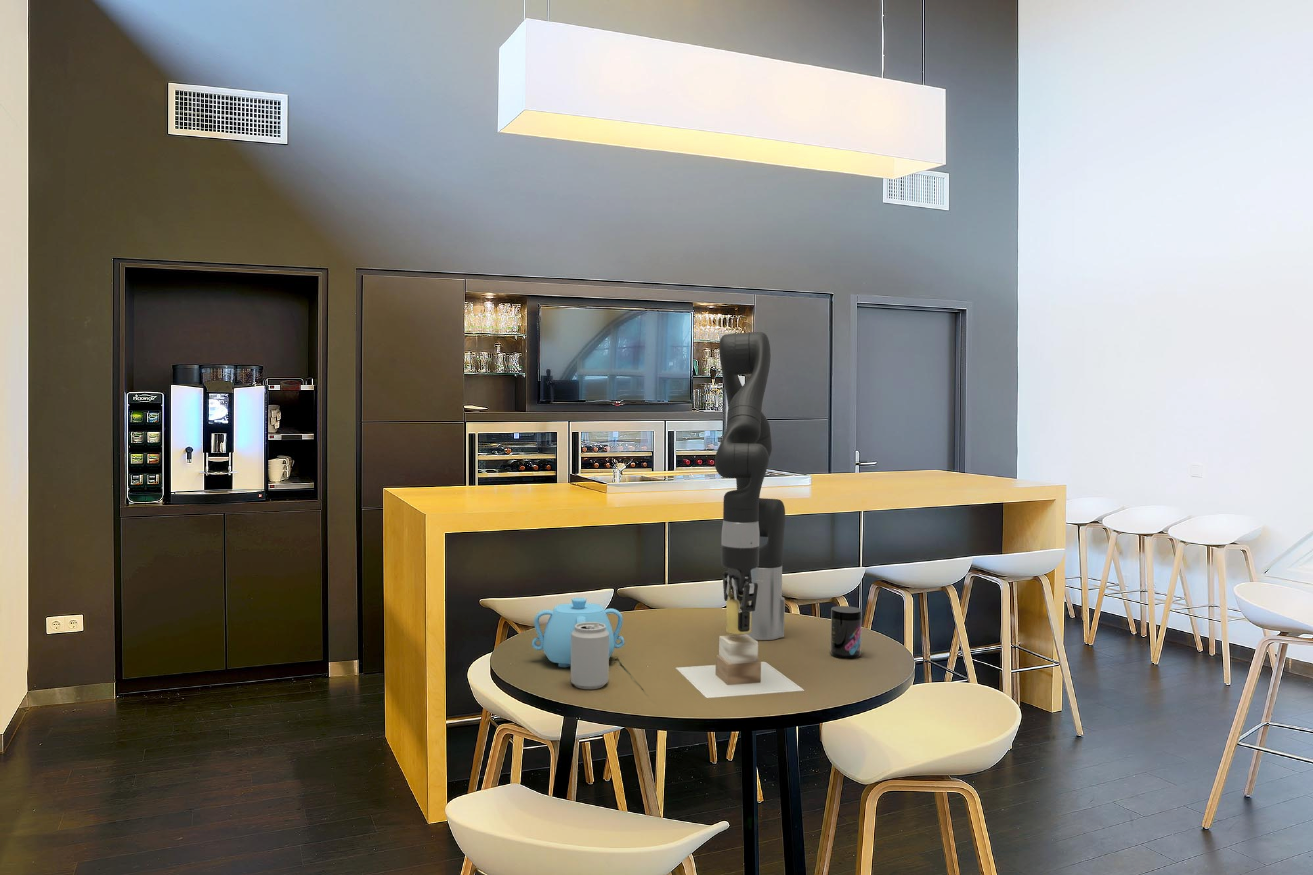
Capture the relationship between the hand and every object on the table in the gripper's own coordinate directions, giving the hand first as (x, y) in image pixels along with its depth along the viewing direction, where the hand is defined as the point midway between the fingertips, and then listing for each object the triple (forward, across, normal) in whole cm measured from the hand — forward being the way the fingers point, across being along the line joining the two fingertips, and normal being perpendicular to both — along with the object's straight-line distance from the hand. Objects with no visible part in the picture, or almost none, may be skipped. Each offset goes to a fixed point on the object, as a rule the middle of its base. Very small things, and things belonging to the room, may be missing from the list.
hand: (738, 627), depth 186 cm
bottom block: (+10, 0, 0) cm, 10 cm away
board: (+11, 0, 0) cm, 11 cm away
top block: (+6, 0, 0) cm, 6 cm away
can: (+12, +6, +29) cm, 32 cm away
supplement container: (+12, +14, -31) cm, 36 cm away
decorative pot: (+12, +23, +28) cm, 38 cm away
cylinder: (+1, 0, 0) cm, 1 cm away
